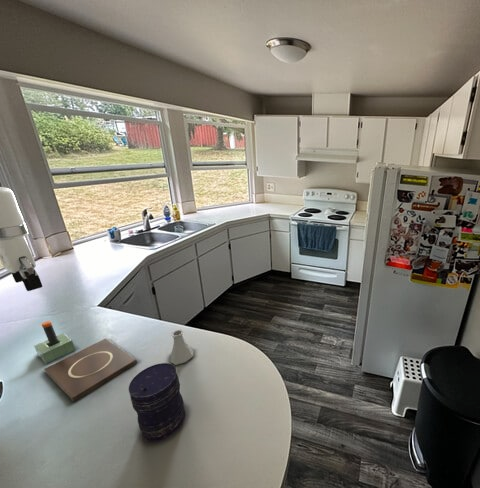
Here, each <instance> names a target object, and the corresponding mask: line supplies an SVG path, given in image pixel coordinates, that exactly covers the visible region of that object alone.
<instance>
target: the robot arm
mask: <svg viewBox="0 0 480 488" xmlns="http://www.w3.org/2000/svg"><path fill="white" fill-rule="evenodd" d="M18 204H19V203H18V202H17V199H16V196H15V194H14V192H13V190H11V189H10V188H8V187H6V186H0V263H1V265H2V267H3V268H4V269H5V270H6V271H8V272H10V274H11V275H12V277H13V280H14V282H15V283H17V284H18V283H21V282H22V283H23V285H24V289H25V291H27V292H31V291H35V290H38V289H42V288H43V284H42V281H41V279H40V277H39V274H38V272H37V270H36V269H35V268H36V267H37V265H36V261H35V258H34V255H33V253H32V251H31V248H30V246H29V244H28V241H27V239H26V236H29V235H30V233H29V230H28V228H27V225H26V223H25V220H24V217H23V215H22V213H21V210H20V207H19V205H18Z"/></svg>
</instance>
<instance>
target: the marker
mask: <svg viewBox="0 0 480 488" xmlns="http://www.w3.org/2000/svg"><path fill="white" fill-rule="evenodd" d="M41 327H42V329H43V331H44V334H45V336H46V338H47V340H48V341H49V343H50V345H51V346H53V345H55V344H57V343H59V341H58V339H57V336H58V335H57V334H56V332H55V329H54V326H53V322H52V321H51V320H47V321H44V322H41Z"/></svg>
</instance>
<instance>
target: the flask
mask: <svg viewBox="0 0 480 488" xmlns="http://www.w3.org/2000/svg"><path fill="white" fill-rule="evenodd" d="M183 332H184V331H183V330H181V329H176V330H175V331H173V332H172V333H171V336H172V337H173V345H172V350H171V352H170V359H169V362H170V363H171V364H172V365H174V366H177V365H180V364H184V363H187V362H188V361H189V360H190V359H191V358H193V357H194V350H193V348H191V346H190V345H189V344H188V342H187V341H186V340H185V338H184V336H183Z"/></svg>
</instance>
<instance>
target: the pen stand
mask: <svg viewBox="0 0 480 488" xmlns="http://www.w3.org/2000/svg"><path fill="white" fill-rule="evenodd" d="M56 336H57V339H58V341H59V343H57V344H55V345H53V346H51V345H50V343H49V341H48V339H47V340H44V341H41V342H39V343H37V344H35V345H33V348H34V349H35V352H36V354H37V356H38V357H39V358H40V359H41V360H42V361H43V362H44V363H45V364H46V365H47V364H48V363H51V362H53V361H55V360H57V359H59V358H61V357H64V356H65V355H67V354H69V353H72V352H73V351H76V347H75V345H74V342H73V340H72V339H71V338H69V337H68V336H67V335H66V334H65V333H60V334H58V335H56Z"/></svg>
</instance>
